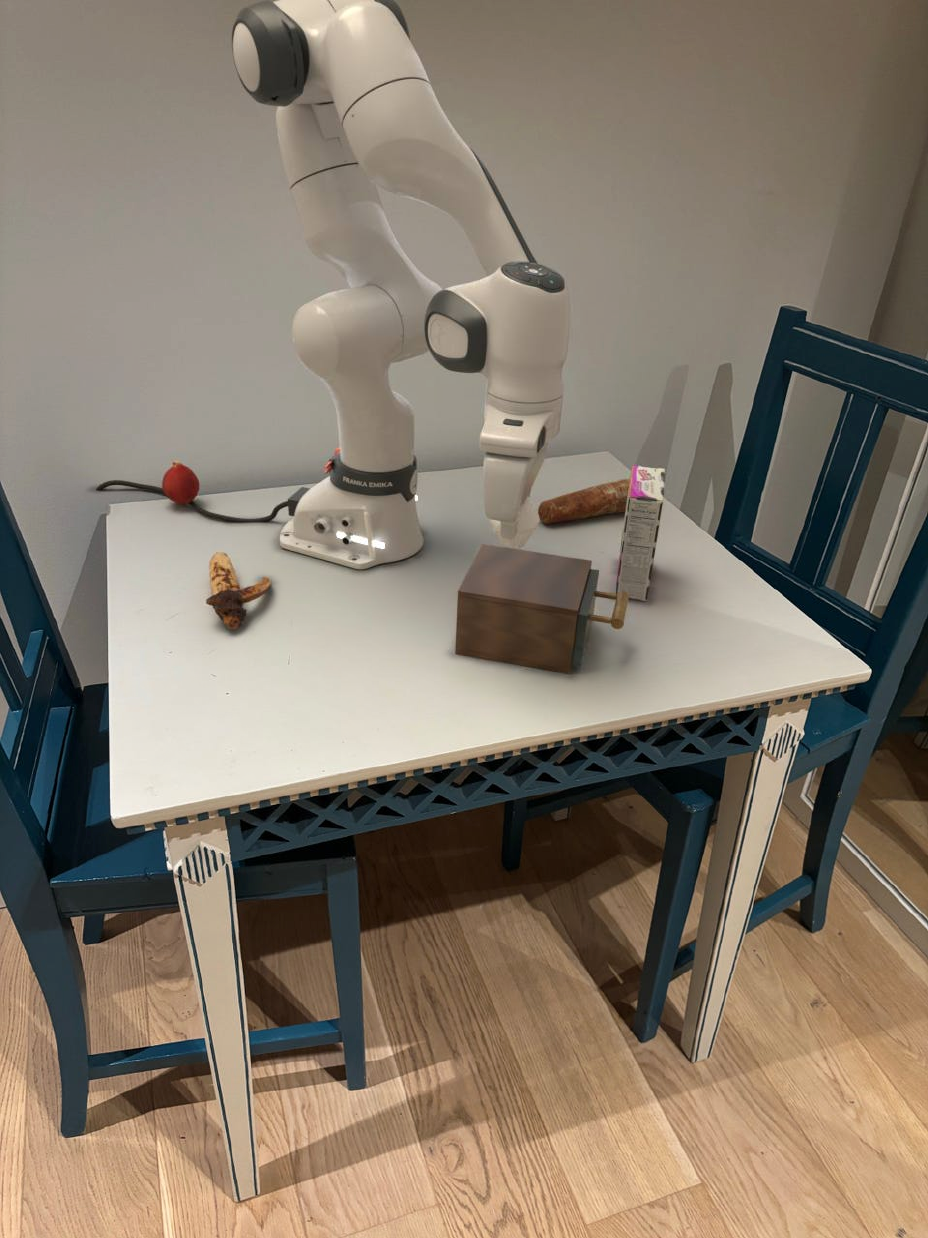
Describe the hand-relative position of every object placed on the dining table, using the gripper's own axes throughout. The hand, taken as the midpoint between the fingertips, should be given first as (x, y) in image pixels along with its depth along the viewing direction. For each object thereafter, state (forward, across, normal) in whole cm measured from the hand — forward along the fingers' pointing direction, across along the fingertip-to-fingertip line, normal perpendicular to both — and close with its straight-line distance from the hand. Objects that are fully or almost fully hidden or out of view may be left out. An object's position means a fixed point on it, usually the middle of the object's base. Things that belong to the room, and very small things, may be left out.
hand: (514, 522), depth 110 cm
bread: (+17, -41, +6) cm, 45 cm away
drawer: (+16, -1, +6) cm, 17 cm away
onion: (+17, -23, -60) cm, 66 cm away
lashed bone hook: (+17, +1, -38) cm, 42 cm away
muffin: (+3, 0, 0) cm, 3 cm away
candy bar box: (+18, -20, +15) cm, 31 cm away
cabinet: (+17, -1, +2) cm, 17 cm away
